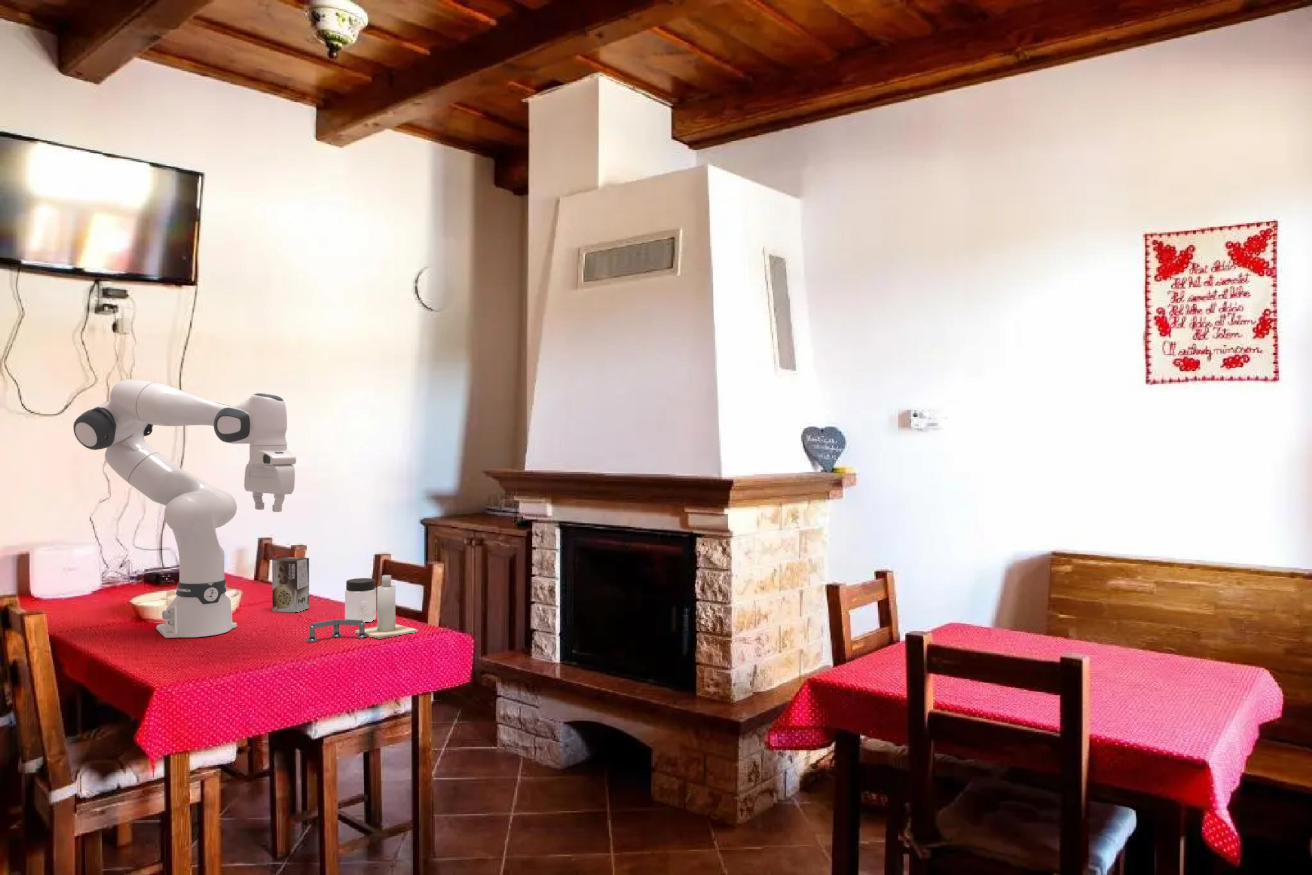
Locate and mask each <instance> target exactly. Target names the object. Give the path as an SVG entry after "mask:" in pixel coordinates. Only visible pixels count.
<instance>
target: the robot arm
mask: <svg viewBox="0 0 1312 875" xmlns="http://www.w3.org/2000/svg"><path fill="white" fill-rule="evenodd" d="M287 416H288V415H287V407H286V403H285V400H284V398H282V397H281V396H278V395H274V394H270V393H269V394H267V393H263V392H262V393H259V392H258V393H257V392H256V393H254V394H252V395H251V396H250V397H249V398H248V399H246V400H244V401H242V402H240V403H238V404H235V405H228V404H224V403H220V402H214V401H211V400H208V399H205V398H202V397H200V396H197V395H195V394H192V393H189V392H186V391H184V390H181V389H179V388H176V387H173V386H170V385H169V384H163V383H160V382H156V381H152V380H147V379H136V378H135V379H134V378H132V379H131V378H129V379H128V378H127V379H126V378H125V379H123V380H120V381H118V382H116V384H115V385H114V386H113V387H112V388H111V391H110V394H109V400H107V401H105V402H103V403H102V404H100V405H98V406H95V407H93V408H91V409H89V410H86V411H85V412H83V413H82V414H80V415H79V416H78V417H77V418H76V419H75V420H74V422H73V433H74V436H75V438H76V440H77V441H78V442H79V444H81V445H82V446H84V447H85V448H87V449H88V450H93V451H97V450H98V451H99V450H104V449H106V450H105V452H104V458H105V459H104V460H105V462H106V463H107V465H109V467H110V468H111V469H112V470H113V471H114V472H115V473H116V474H117V475H118V476H119V477H121V478H122V479H123V480H124V481H125V482H127V483H128V484H129V485H130V486H132V487H133V488H135V489H136V490H137V491H139V493H141V494H142V495H143V496H146V497H147V498H148V499H150V500H151V501H152V502H155V503H157V504H160V505H163V506H165V508H164V511H163V512H164V513H163V515H164V520H165V523H166V524H167V526H168V527H169V528H170V529H171V531H172V532H173V535H174V536H173V537H174V539H175V542H176V546H177V551H178V552H177V553H178V557H179V558H178V560H179V562H178V564H179V569H178V570H179V574H178V575H179V581H178V582H177V586H176V588H175V589H176V593H175V595H176V596H175V598H173V600H172V601H171V602H170V604H169V605H167V607H166V610H162V612H161V614H162V615H161V616H162V620H165V622H164V623H159V624H157V625H156V630H157V631H158V632H159V633H160V635H162V636H163V637H164V638H165V639H166V638H167V639H169V638H200V637H209V636H216V635H217V636H218V635H222V634H224V633H227V632H230V631H231V630H232V629H234V628H237V627H238V623H237V622H233V613H232V612H233V611H232V602H231V601H232V600H231V597H229V596H227V595H226V592H227V580H226V578H225V550H224V549H223V547H222V546H221V545H220V543H219V538H218V535H217V530H216V529H218V528H221V527H222V526H225V525H226V524H227V523H229V522H230V521H231V520H232V519H233V518H235V515H236V513H237V510H238V507H237V506H238V505H237V501H236V499H235V498H234V496H233V495H232V494H230V493H229V492H227V491H224V490H221V489H219V488H217V487H216V486H213V485H212V484H210V483H208V482H206V481H204V480H202V479H201V478H199V477H197V476H195V475H194V474H193V475H192V474H190V473H189V472H187V471H185V470H184V469H182V468H181V467H179V466H178V465H177V464H175V463H174V462H173V461H171V460H170V459H169V458H167V457H165V456H164V455H163V454H161V453H160V452H159V451H158V450H156V449H154V448H153V447H152V446H150V445H149V443H147V442H146V440H145V437H148V436H149V435H151V434H152V433H153V427H154V426H160V427H162V426H163V427H185V426H186V427H187V426H212V427H213V429H214V433H215V436H216V437H217V438H218V439H219V440H220V441H221V442H223V443H227V444H232V445H237V444H238V445H239V444H240V445H244V444H245V445H246V444H248V445H249V460H248V463H247V464H246V466H245V469H244V478H243V479H244V480H243V481H244V482H243V483H244V484H243V486H244V487H243V488H244V490H245V492H249V493H250V492H252V500H253V502H254V509H255V510H257V511H263V510H265V502H263V501H264V500H263V496H264V494H270V495H273V499H274V501H273V502H274V503H273V504H272V508H271V509H272V512H273V513H280V512H282V511H283V503H284V501H285V495H292V494H293V492H294V490H295V485H296V484H295V481H296V470H295V467H294V465H295V464H296V463H297V457H296V455H294V454H293V453H291V451H290V450H289V449H288V444H287V443H288V442H287V440H286V439H287V438H286V433H287V429H288V417H287Z"/></svg>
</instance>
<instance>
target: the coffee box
mask: <svg viewBox="0 0 1312 875" xmlns="http://www.w3.org/2000/svg"><path fill="white" fill-rule="evenodd" d="M271 572H272V573H271V576H272V577H271V578H272V582H271V583H272V584H271V585H272V586H271V587H272V590H271V591H272V593H271V594H272V609H271V610H272V611H271V612H276V613H277V612H279V613H295V612H298V613H301V612H304V611H306V610H305V609H308V608H309V609H310V558H309V557H293V556H291V557H290V556H289V557H279V558H276V559H272V560H271ZM309 609H308V610H309ZM303 610H304V611H303ZM300 611H301V612H300Z"/></svg>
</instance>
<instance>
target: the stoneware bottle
mask: <svg viewBox="0 0 1312 875" xmlns="http://www.w3.org/2000/svg"><path fill="white" fill-rule="evenodd" d="M376 620H377V622H376V626H377V631H379V632H390V631H394V630H395V624H396V585H392V575H390V574H383V575H381V585H379V586H377V587H376Z"/></svg>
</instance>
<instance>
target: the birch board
mask: <svg viewBox="0 0 1312 875" xmlns="http://www.w3.org/2000/svg"><path fill="white" fill-rule="evenodd" d="M418 630H419V629H416V628H413V627H409V626H405V625H403V624H402V625H401V624H397V623H395V630H394V631H390V632H379V631H377V625H376V626H371V627H370V626H369V627H365V634H367V636H369V637H368V638H370V637H375V638H378V639H381V638H385V637H392V638H395V637H394V636H397V637H399V636H398V635H402V634H406V633H413V634H416V633H415V632H418ZM354 633H355V634H356V633H359V629H355V630H354ZM418 633H419V632H418ZM402 636H403V635H402Z"/></svg>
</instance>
